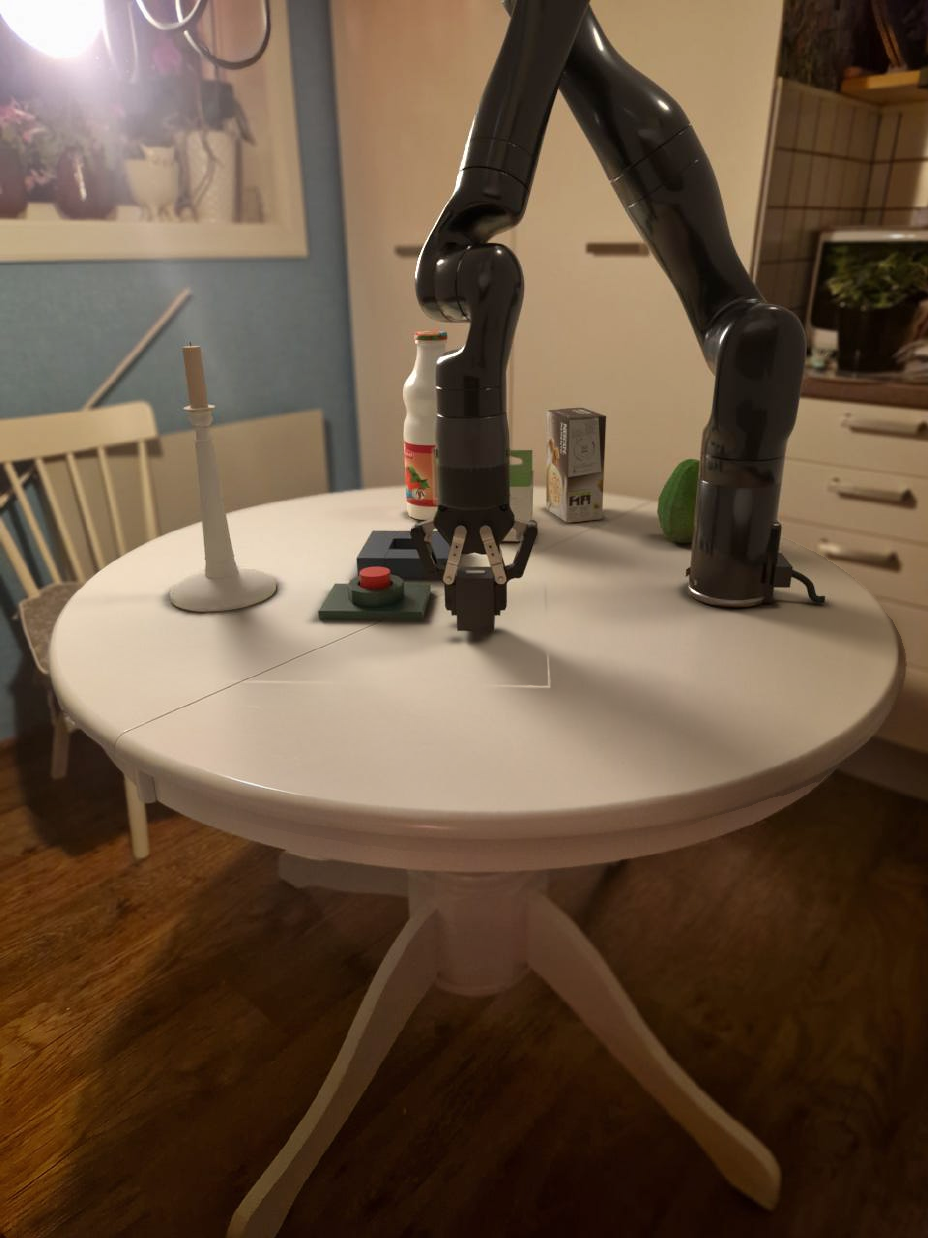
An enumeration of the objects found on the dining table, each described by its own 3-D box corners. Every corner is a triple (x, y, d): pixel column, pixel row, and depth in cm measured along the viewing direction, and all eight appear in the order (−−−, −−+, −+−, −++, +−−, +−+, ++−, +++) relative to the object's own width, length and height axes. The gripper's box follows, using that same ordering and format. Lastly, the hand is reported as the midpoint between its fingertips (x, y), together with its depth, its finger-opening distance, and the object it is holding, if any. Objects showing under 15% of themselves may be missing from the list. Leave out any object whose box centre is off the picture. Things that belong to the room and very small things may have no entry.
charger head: (495, 616, 97) (494, 565, 94) (494, 631, 93) (493, 578, 91) (459, 616, 97) (458, 565, 95) (457, 631, 93) (455, 578, 91)
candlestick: (223, 619, 100) (186, 349, 88) (148, 599, 106) (104, 345, 95) (297, 585, 110) (272, 338, 98) (225, 569, 116) (194, 335, 105)
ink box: (532, 534, 128) (533, 444, 123) (531, 542, 125) (533, 450, 119) (485, 534, 129) (485, 444, 124) (483, 542, 125) (482, 450, 120)
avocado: (722, 545, 122) (731, 460, 118) (678, 553, 119) (685, 467, 114) (686, 530, 129) (693, 450, 124) (643, 538, 126) (648, 456, 121)
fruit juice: (464, 521, 135) (461, 334, 124) (404, 522, 135) (396, 334, 125) (466, 505, 144) (463, 328, 133) (409, 506, 144) (402, 329, 133)
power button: (393, 580, 104) (392, 566, 103) (388, 591, 100) (387, 576, 100) (363, 580, 104) (362, 566, 103) (357, 590, 100) (356, 576, 100)
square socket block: (457, 551, 122) (457, 530, 121) (450, 580, 111) (449, 558, 110) (373, 550, 123) (372, 530, 121) (357, 579, 112) (356, 557, 110)
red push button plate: (430, 593, 107) (430, 570, 106) (422, 621, 98) (421, 597, 97) (335, 592, 108) (333, 569, 106) (318, 620, 99) (316, 596, 98)
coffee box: (604, 519, 135) (608, 415, 128) (566, 524, 133) (569, 418, 127) (579, 505, 143) (582, 406, 137) (543, 508, 141) (545, 409, 135)
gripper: (542, 448, 91) (540, 600, 97) (407, 450, 92) (415, 600, 98) (543, 464, 84) (542, 626, 91) (398, 466, 85) (407, 626, 92)
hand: (476, 612), depth 94 cm, fingers closed on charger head, 4 cm apart
